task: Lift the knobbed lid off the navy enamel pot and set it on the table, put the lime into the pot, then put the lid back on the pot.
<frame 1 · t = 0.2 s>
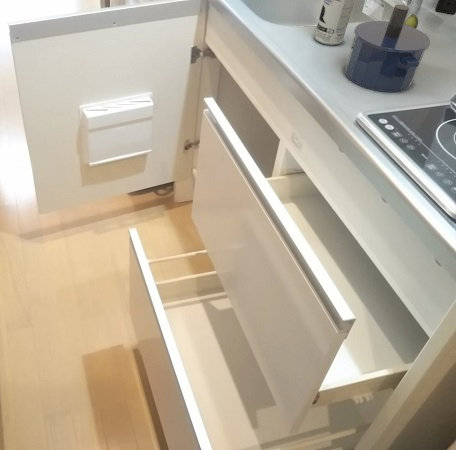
hand: (445, 3, 90), 19 cm above the countertop, tool pointing down, fingers open, 9 cm apart
spray can: (328, 40, 124), on the countertop
pot: (377, 76, 111), on the countertop
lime: (404, 35, 129), on the countertop
pot lid: (391, 37, 105), point 8 cm above the countertop, touching pot
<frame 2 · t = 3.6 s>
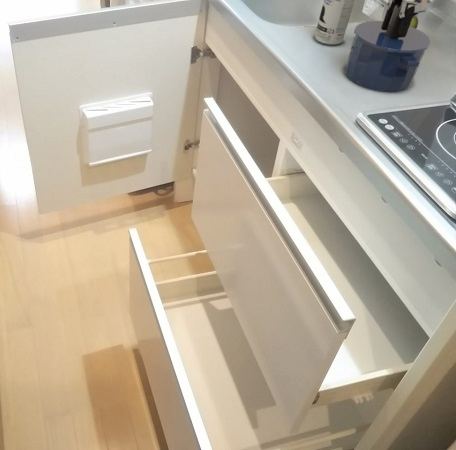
hand: (393, 32, 104), 10 cm above the countertop, tool pointing down, fingers closed on pot lid, 2 cm apart
pot lid: (391, 37, 105), point 9 cm above the countertop, touching gripper, pot
everything else where it was.
when the fingers open (2 cm above the countertop, at t = 11.5 s): pot lid stays where it is, point 1 cm above the countertop.
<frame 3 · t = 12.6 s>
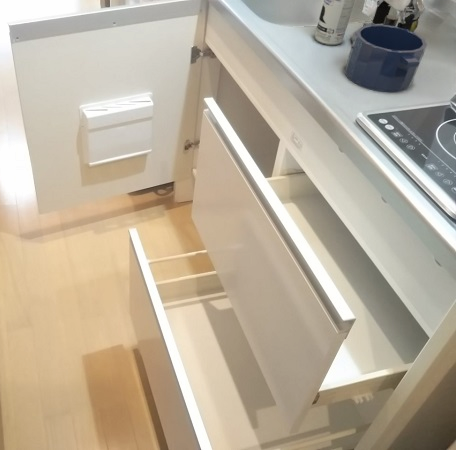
hand: (388, 31, 121), 3 cm above the countertop, tool pointing down, fingers open, 9 cm apart
pot lid: (383, 43, 122), point 1 cm above the countertop
everything else where it was.
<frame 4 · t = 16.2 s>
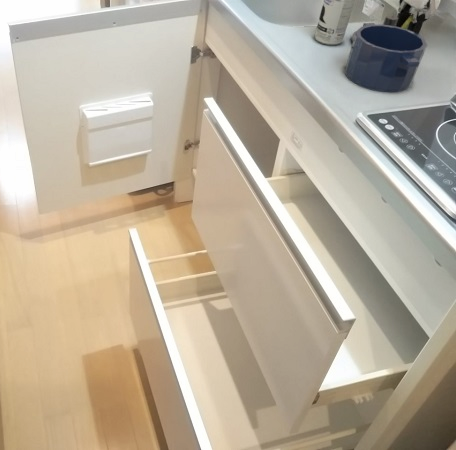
hand: (405, 32, 128), 0 cm above the countertop, tool pointing down, fingers closed on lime, 4 cm apart
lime: (404, 35, 129), on the countertop, touching gripper
everything else where it was.
when the fingers open (5 cm above the countertop, at t = 24.3 s): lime drops 4 cm, resting on pot.
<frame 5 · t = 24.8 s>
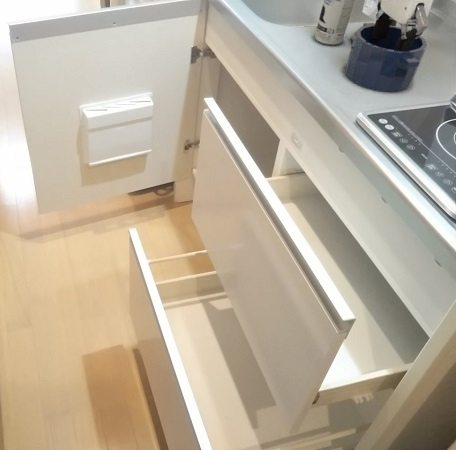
hand: (388, 47, 106), 6 cm above the countertop, tool pointing down, fingers open, 8 cm apart
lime: (379, 75, 110), resting on pot
everything else where it was.
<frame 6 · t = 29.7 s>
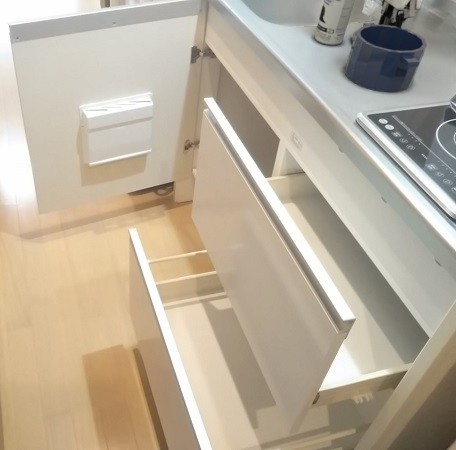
hand: (386, 34, 121), 3 cm above the countertop, tool pointing down, fingers closed on pot lid, 2 cm apart
pot lid: (383, 43, 122), point 1 cm above the countertop, touching gripper
everything else where it was.
when the fingers open (11 cm above the countertop, at t = 36.4 s): pot lid stays where it is, resting on pot.
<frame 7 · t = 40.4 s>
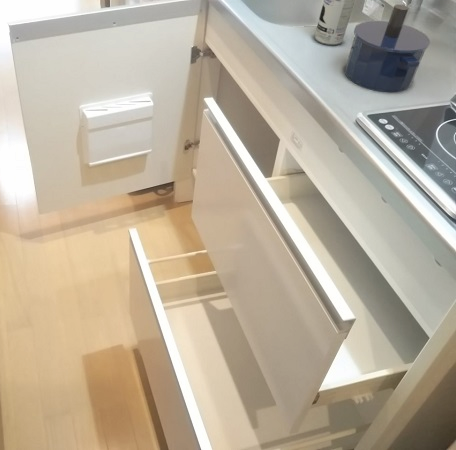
pot lid: (390, 37, 105), point 8 cm above the countertop, touching pot
everything else where it was.
at the end: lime inside the target area in the pot (0.4 cm from its centre), point 0.3 cm above the pot's base; pot lid 0.1 cm off-centre on the pot, point 8.5 cm above the pot's base; pot lid tilted 0° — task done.
